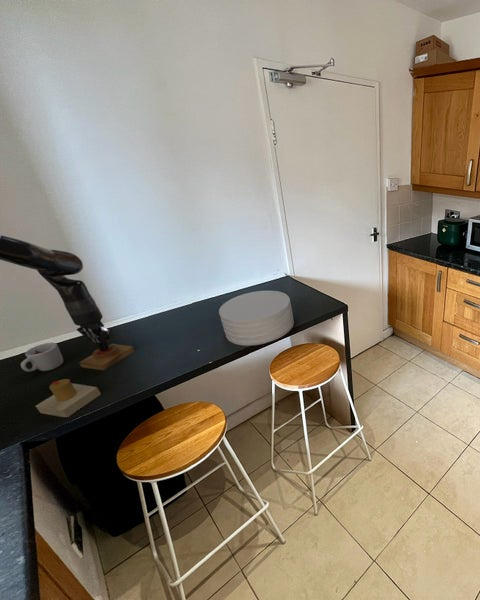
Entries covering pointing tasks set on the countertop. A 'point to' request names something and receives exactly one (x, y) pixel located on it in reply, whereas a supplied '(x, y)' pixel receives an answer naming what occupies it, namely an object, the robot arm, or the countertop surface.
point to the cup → (43, 357)
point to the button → (105, 351)
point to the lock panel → (69, 402)
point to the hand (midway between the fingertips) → (104, 349)
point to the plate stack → (257, 317)
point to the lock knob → (63, 389)
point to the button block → (107, 357)
